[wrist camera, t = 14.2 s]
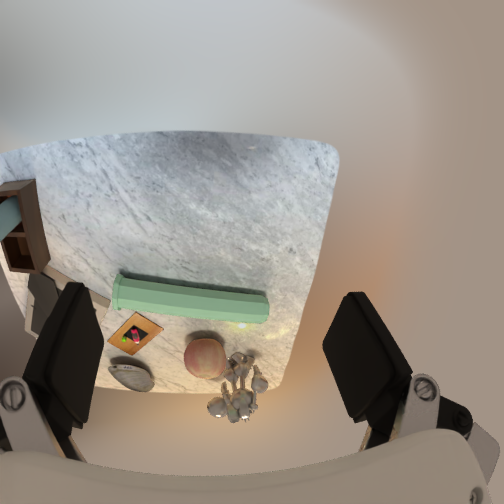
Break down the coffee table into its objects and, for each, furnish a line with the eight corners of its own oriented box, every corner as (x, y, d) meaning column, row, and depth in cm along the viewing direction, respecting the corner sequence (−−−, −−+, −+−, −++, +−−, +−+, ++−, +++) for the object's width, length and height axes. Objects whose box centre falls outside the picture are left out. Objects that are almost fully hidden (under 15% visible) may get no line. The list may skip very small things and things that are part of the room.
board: (107, 340, 48) (106, 346, 46) (136, 311, 45) (134, 317, 43) (132, 354, 51) (131, 360, 49) (163, 328, 48) (162, 334, 46)
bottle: (9, 192, 28) (-28, 221, 20) (27, 191, 29) (-10, 220, 21) (14, 217, 31) (-20, 250, 22) (32, 217, 32) (-2, 251, 23)
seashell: (165, 373, 55) (164, 391, 51) (145, 384, 57) (144, 401, 53) (122, 349, 49) (118, 368, 45) (104, 362, 51) (100, 380, 47)
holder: (21, 257, 35) (9, 271, 31) (4, 182, 28) (-12, 192, 24) (50, 259, 36) (40, 274, 33) (35, 179, 29) (19, 189, 26)
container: (276, 319, 41) (109, 301, 34) (263, 332, 46) (115, 316, 39) (273, 286, 45) (117, 266, 38) (261, 301, 49) (121, 284, 42)
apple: (176, 340, 50) (174, 374, 43) (205, 322, 48) (206, 357, 41) (204, 358, 54) (205, 390, 47) (232, 342, 52) (236, 375, 45)
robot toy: (218, 381, 59) (223, 438, 47) (198, 372, 56) (201, 432, 44) (266, 354, 56) (281, 415, 43) (248, 343, 53) (260, 408, 40)
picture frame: (37, 258, 36) (27, 323, 43) (30, 267, 33) (23, 332, 40) (110, 300, 42) (85, 355, 50) (106, 311, 40) (83, 365, 47)
